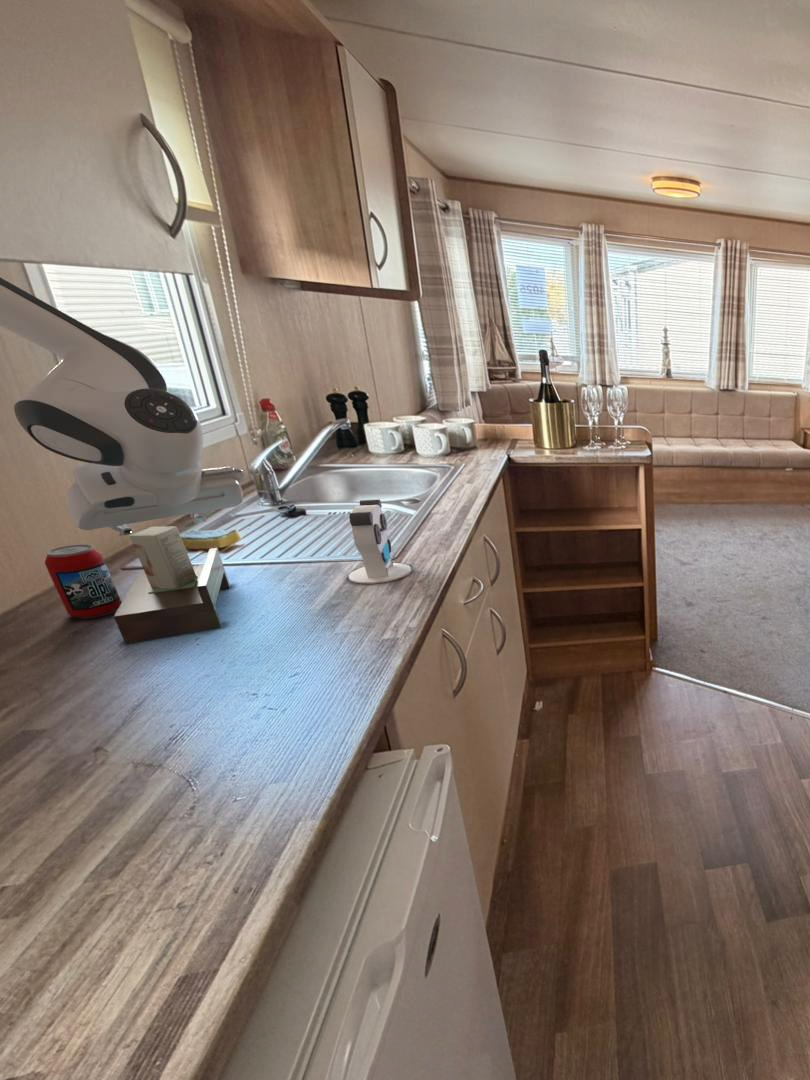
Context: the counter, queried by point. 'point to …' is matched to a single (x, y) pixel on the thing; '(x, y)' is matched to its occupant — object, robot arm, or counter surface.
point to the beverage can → (82, 581)
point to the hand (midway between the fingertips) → (162, 525)
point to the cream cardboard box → (163, 557)
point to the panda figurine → (373, 545)
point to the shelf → (173, 604)
